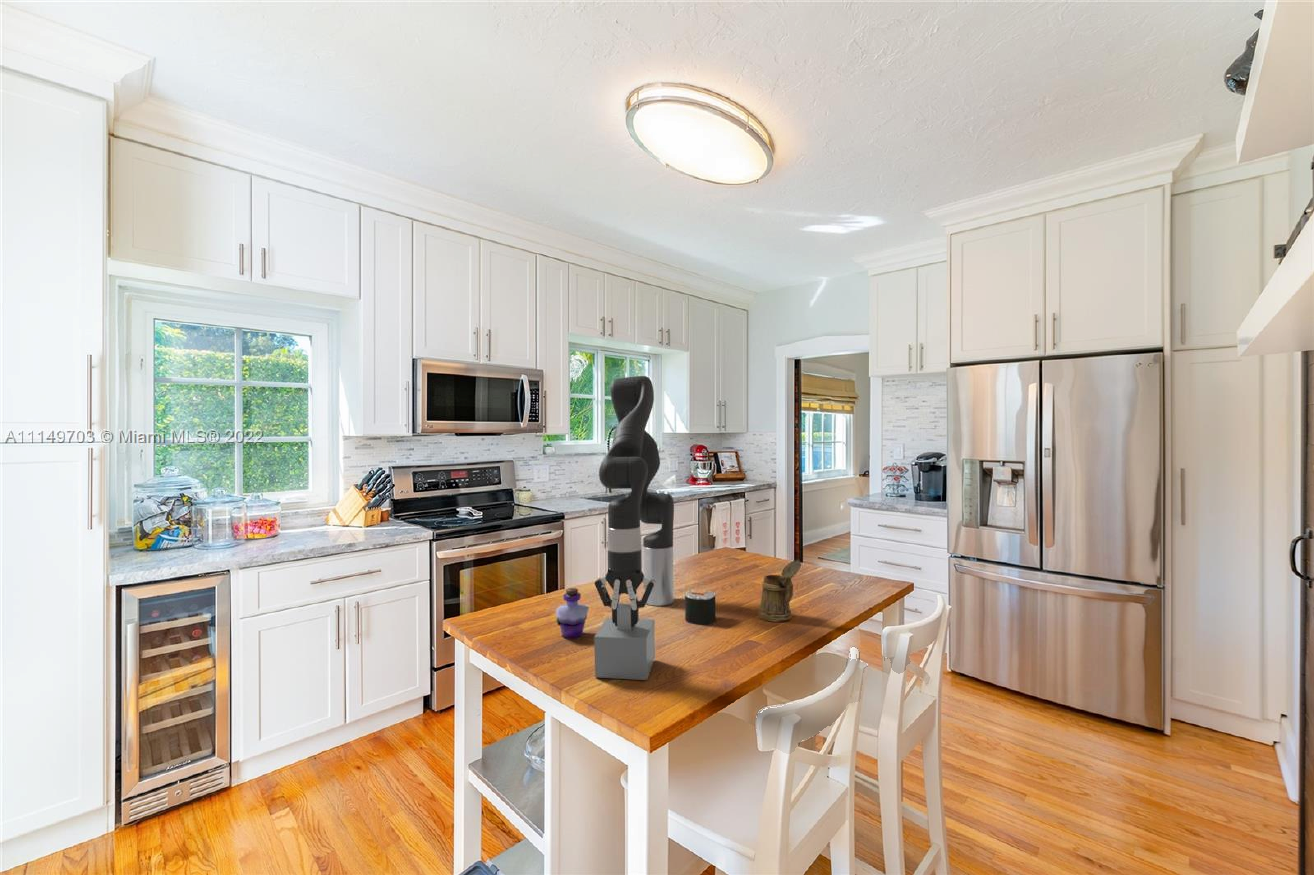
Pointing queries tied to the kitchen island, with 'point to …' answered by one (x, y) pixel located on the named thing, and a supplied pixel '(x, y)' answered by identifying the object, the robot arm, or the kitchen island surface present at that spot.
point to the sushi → (700, 607)
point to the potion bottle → (572, 615)
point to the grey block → (624, 647)
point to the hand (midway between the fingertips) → (625, 624)
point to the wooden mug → (778, 594)
